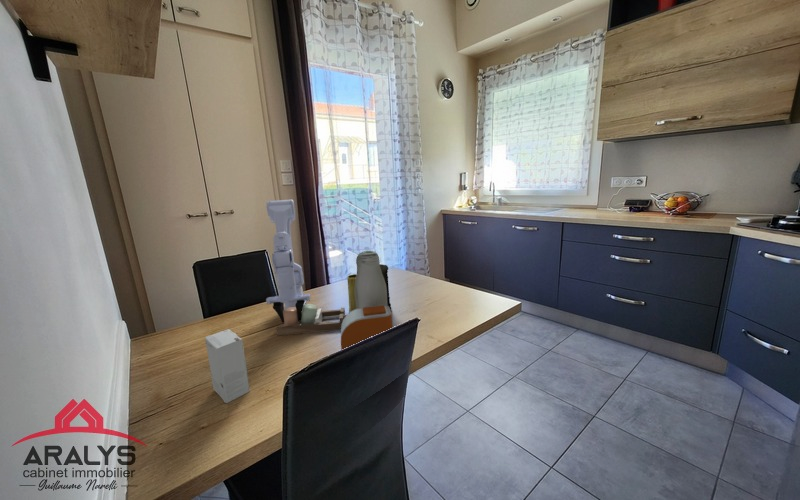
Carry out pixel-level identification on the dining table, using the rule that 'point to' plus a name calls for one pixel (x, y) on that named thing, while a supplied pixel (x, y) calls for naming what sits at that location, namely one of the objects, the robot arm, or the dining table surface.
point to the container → (386, 281)
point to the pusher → (319, 316)
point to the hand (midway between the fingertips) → (291, 320)
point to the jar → (290, 316)
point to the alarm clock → (364, 324)
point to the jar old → (308, 314)
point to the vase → (351, 292)
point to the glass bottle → (369, 281)
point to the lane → (316, 326)
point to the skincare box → (227, 365)
